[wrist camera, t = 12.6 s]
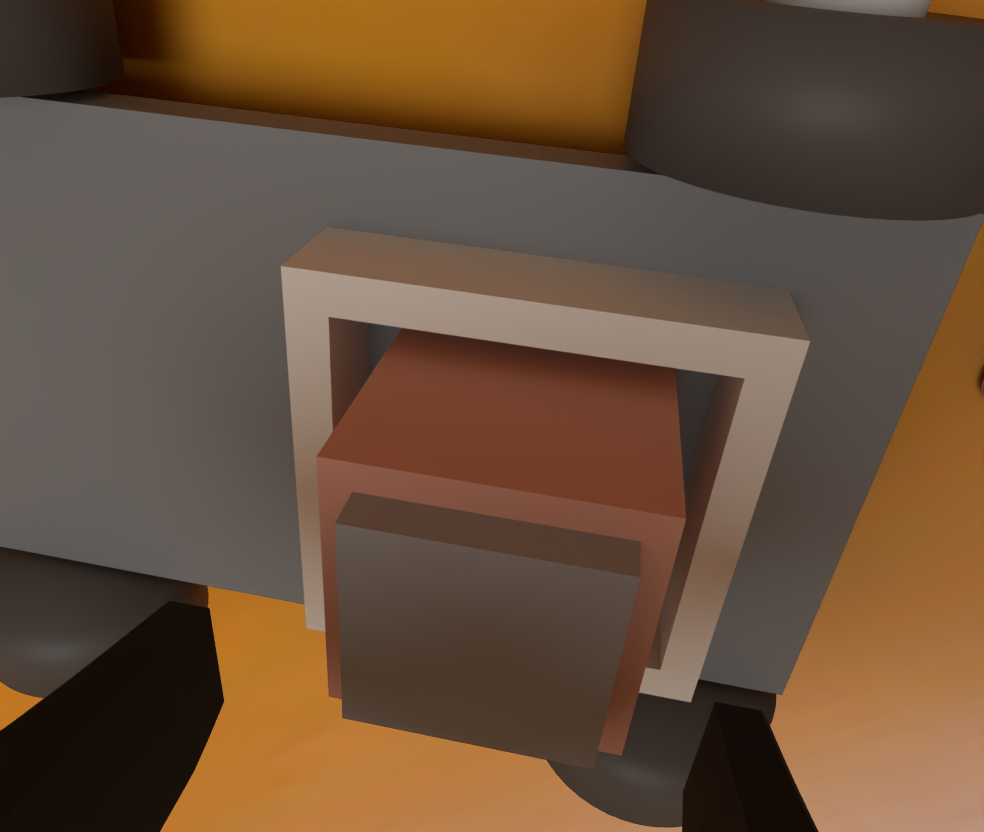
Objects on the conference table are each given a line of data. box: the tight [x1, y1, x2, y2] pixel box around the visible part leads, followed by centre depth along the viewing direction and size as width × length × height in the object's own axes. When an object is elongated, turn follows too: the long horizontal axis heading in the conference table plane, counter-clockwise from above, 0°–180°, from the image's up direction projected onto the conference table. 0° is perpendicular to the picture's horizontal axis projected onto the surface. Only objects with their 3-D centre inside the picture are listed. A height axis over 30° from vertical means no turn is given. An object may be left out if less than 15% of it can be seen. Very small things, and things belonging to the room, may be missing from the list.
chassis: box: [0, 0, 984, 827], centre depth 17 cm, size 22×19×6 cm
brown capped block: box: [316, 328, 686, 769], centre depth 13 cm, size 5×5×6 cm
